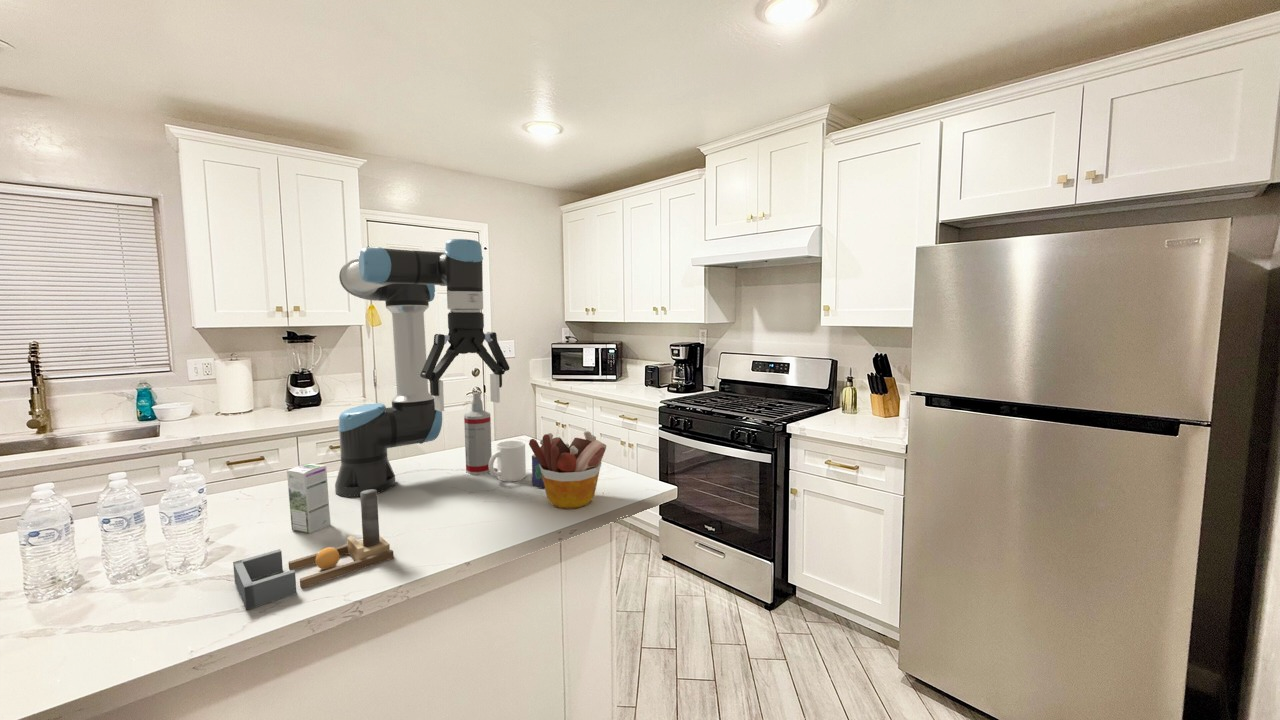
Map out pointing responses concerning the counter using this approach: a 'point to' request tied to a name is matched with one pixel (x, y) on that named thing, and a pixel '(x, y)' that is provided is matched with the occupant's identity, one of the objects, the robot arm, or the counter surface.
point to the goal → (266, 587)
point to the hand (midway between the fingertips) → (468, 406)
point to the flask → (536, 474)
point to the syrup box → (308, 497)
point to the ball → (327, 558)
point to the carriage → (368, 529)
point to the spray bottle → (477, 438)
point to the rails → (337, 570)
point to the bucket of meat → (569, 468)
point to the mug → (509, 461)
